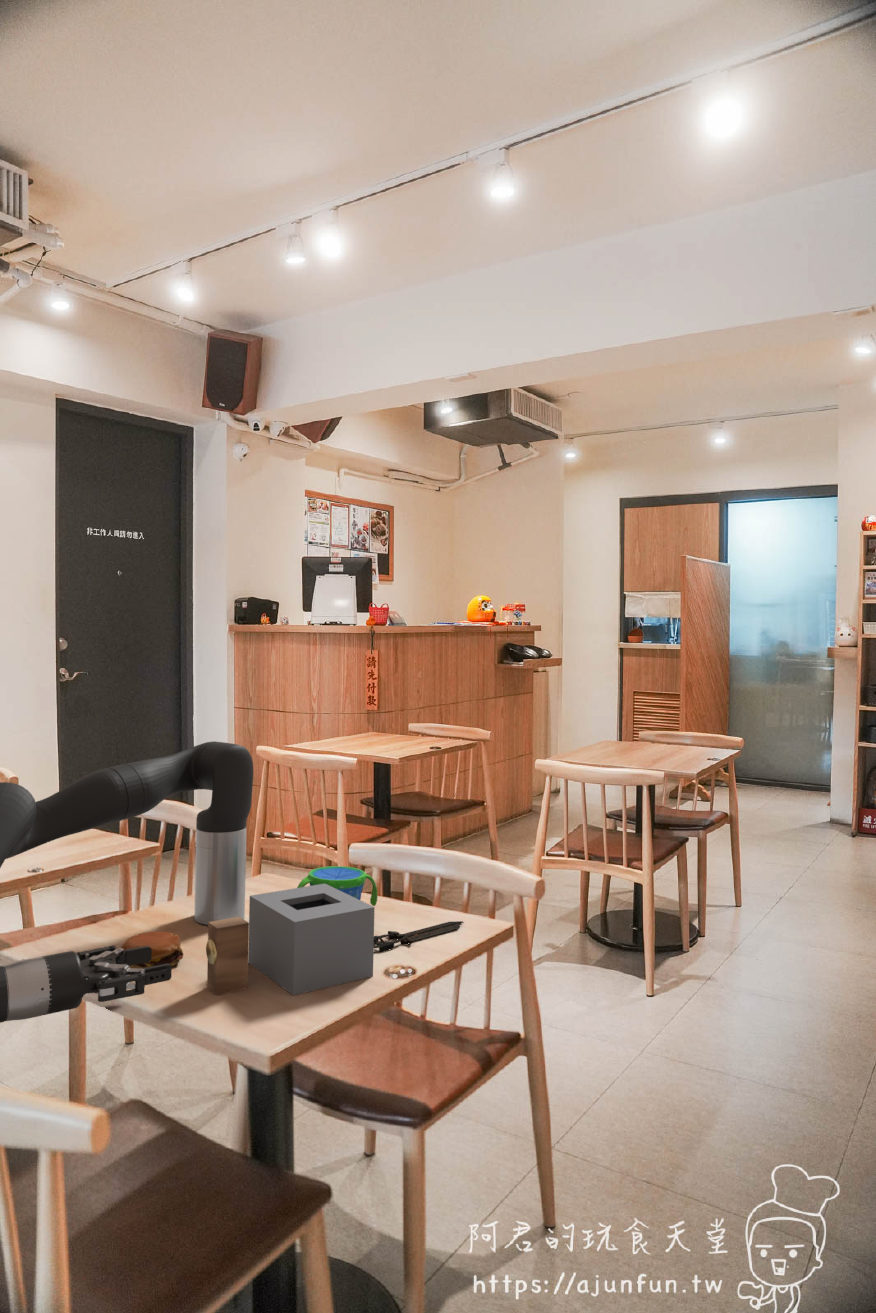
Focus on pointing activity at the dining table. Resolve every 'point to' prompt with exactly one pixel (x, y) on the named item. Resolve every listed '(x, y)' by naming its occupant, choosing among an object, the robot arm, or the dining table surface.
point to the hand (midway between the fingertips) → (160, 961)
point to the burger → (157, 948)
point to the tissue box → (311, 937)
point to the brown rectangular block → (227, 955)
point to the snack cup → (341, 880)
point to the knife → (413, 935)
